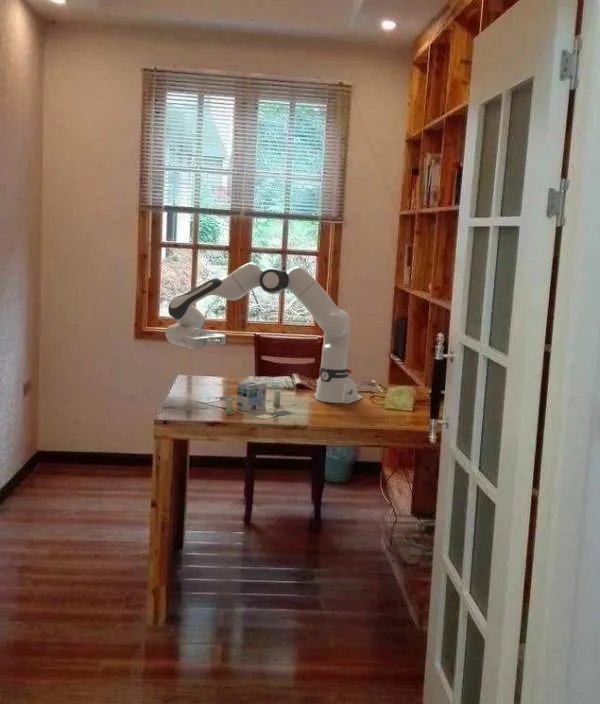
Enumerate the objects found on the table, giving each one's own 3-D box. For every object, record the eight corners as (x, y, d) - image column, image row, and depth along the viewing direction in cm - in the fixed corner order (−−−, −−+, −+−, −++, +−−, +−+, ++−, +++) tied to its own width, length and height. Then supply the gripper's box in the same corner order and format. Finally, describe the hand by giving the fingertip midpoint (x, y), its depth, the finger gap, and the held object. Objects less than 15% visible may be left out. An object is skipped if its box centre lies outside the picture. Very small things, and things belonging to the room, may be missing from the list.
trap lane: (237, 394, 344) (238, 380, 344) (303, 410, 321) (304, 396, 320) (184, 403, 321) (185, 388, 320) (252, 421, 298) (252, 406, 297)
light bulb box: (247, 412, 313) (249, 385, 311) (235, 409, 317) (236, 382, 315) (266, 408, 321) (267, 382, 319) (254, 405, 325) (255, 379, 324)
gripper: (176, 332, 328) (199, 337, 320) (212, 329, 344) (235, 333, 335) (176, 347, 329) (198, 352, 321) (211, 344, 345) (234, 348, 336)
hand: (217, 342), depth 328 cm, fingers closed
